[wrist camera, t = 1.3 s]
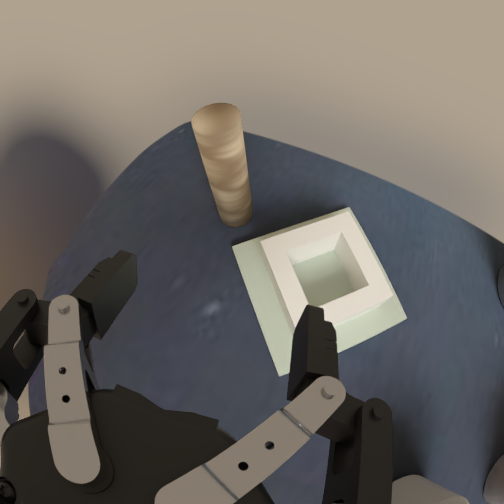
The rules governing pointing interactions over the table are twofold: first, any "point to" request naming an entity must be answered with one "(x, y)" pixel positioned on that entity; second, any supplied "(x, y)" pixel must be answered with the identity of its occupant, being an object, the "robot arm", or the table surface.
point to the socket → (317, 282)
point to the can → (422, 492)
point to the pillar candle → (495, 483)
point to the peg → (225, 161)
